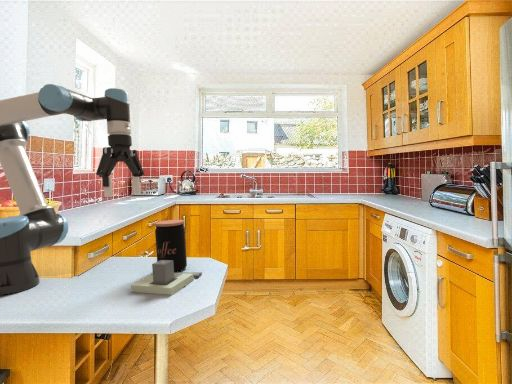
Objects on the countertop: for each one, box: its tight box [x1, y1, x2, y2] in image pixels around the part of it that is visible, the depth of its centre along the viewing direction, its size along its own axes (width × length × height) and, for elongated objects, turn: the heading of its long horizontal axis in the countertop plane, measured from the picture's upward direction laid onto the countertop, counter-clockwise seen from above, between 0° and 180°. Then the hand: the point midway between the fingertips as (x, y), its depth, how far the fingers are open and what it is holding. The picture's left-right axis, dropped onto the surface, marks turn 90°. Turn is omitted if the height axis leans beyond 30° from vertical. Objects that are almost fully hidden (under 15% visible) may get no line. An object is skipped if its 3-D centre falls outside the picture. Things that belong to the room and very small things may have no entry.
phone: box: [181, 271, 203, 279], centre depth 102 cm, size 7×4×1 cm, turn 82°
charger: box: [151, 260, 174, 285], centre depth 92 cm, size 4×4×8 cm
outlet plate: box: [130, 272, 195, 296], centre depth 94 cm, size 14×13×2 cm
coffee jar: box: [154, 219, 188, 273], centre depth 110 cm, size 11×11×18 cm
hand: (123, 195), depth 104 cm, fingers open, 13 cm apart
